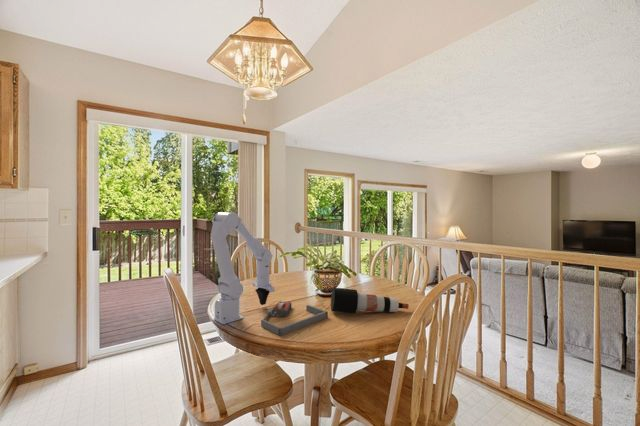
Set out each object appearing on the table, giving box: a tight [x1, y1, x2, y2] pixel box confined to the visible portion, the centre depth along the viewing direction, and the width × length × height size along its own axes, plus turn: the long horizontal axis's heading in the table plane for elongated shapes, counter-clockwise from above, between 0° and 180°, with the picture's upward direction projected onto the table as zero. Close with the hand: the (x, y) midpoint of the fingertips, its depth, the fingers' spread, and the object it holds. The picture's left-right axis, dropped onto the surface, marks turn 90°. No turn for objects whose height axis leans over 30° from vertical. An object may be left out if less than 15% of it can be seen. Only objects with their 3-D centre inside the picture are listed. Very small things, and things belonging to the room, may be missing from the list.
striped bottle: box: [330, 287, 410, 314], centre depth 131 cm, size 10×34×10 cm, turn 94°
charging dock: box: [260, 304, 328, 337], centre depth 120 cm, size 25×12×2 cm, turn 136°
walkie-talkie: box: [263, 300, 292, 321], centre depth 128 cm, size 9×4×20 cm
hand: (263, 304), depth 135 cm, fingers closed
